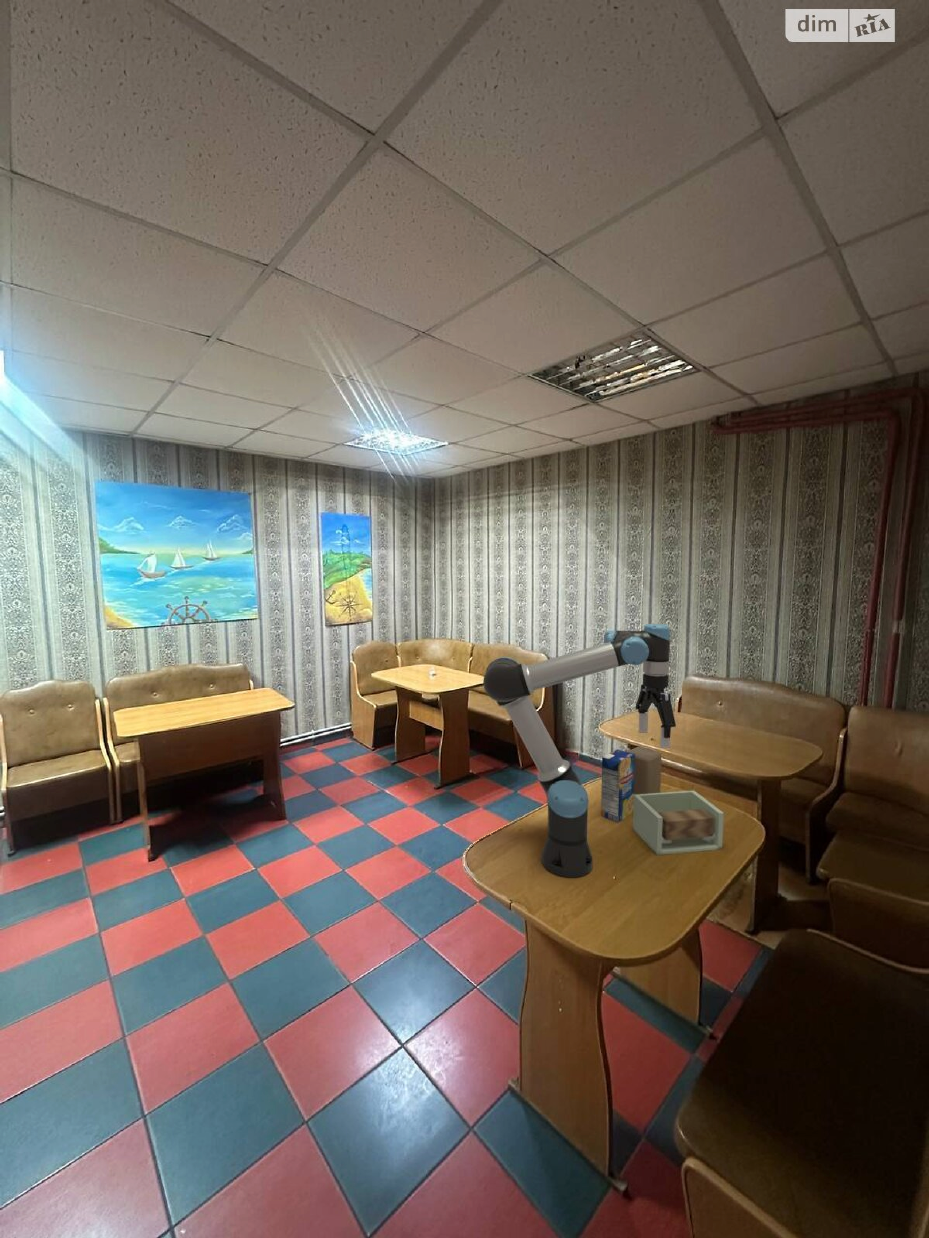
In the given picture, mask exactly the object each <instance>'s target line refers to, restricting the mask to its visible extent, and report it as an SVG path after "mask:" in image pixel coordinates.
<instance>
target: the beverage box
mask: <svg viewBox="0 0 929 1238" xmlns="http://www.w3.org/2000/svg"><path fill="white" fill-rule="evenodd" d="M601 759H602V760H601V761H602V762H601V795H600V796H601V800H600V802H601V803H600V805H601V806H600V807H601V808H600V816H601V817H603V818H605V819H607V820H609V821H613V822H615V823H617V824H619V823H621V822H622V821H623V820H625V819H626V818H628V817H629V816H630V815H633V803H634V771H635V754H633V753H629V752H627V751H626V750H622V749H616V750H614V751H611V752H609V753H608V754H606V755H603V756H602V758H601Z"/></svg>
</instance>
